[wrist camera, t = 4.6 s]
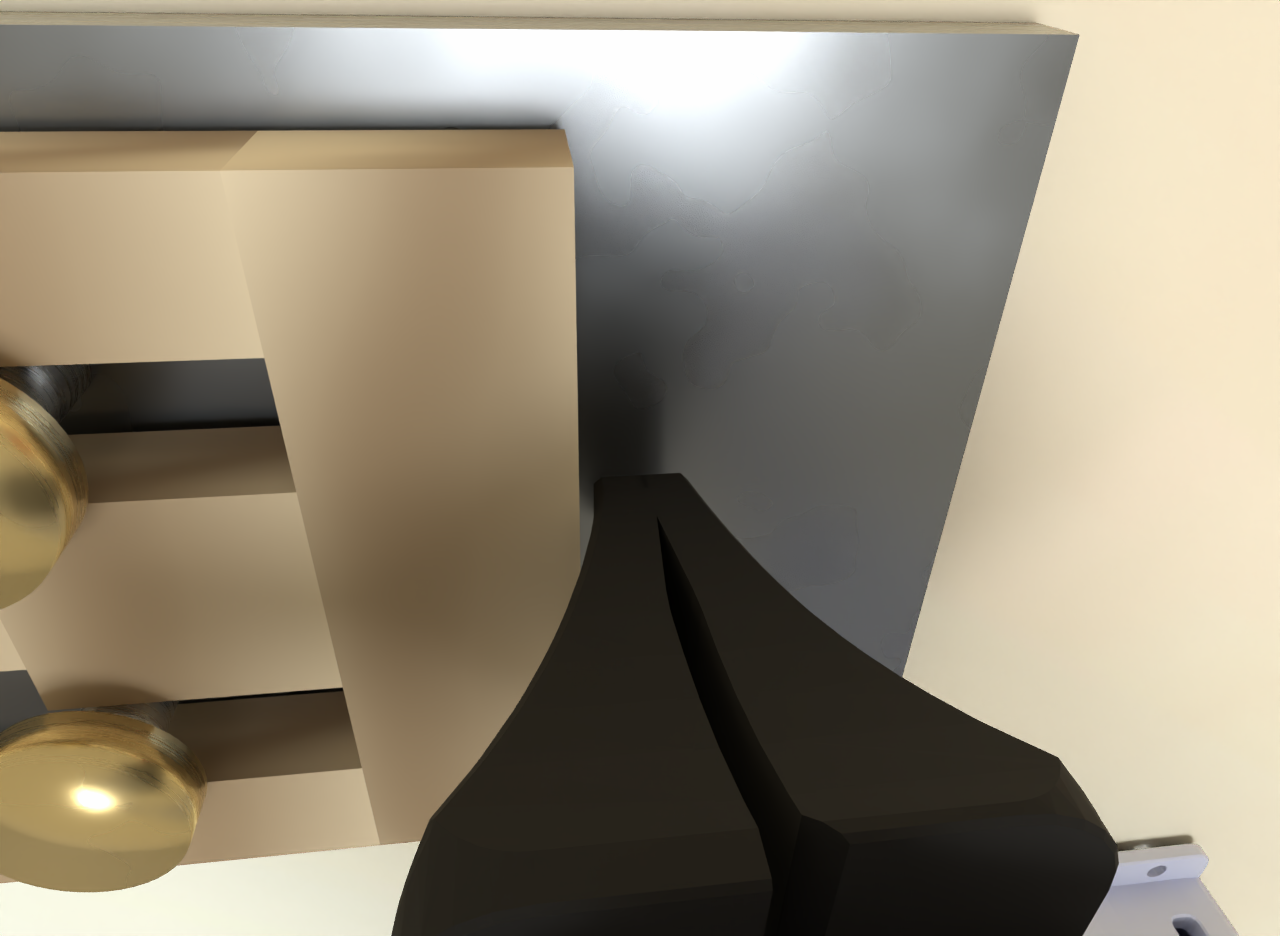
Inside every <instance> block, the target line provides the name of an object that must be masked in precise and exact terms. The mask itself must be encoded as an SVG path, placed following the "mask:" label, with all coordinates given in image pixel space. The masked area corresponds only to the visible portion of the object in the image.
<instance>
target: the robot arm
mask: <svg viewBox="0 0 1280 936" xmlns="http://www.w3.org/2000/svg"><path fill="white" fill-rule="evenodd" d="M1208 861H1209V859H1208V856H1207V855H1206V854H1205V852H1204V851H1203V849H1202V848H1201V847H1200V846H1199V845H1197V844H1180V845H1171V846H1162V847H1154V848H1145V849H1136V850H1127V851H1118V848H1117V844H1116V843H1115V841H1114V840H1113V838H1112V837H1111V835H1110V833H1109V832H1108V830H1107V829H1106V827H1105V825H1104V824H1103V822H1102V821H1101V819H1100V817H1099V816H1098V814H1097V812H1096V811H1095V809H1094V807H1093V806H1092V804H1091V803H1090V801H1089V799H1088V798H1087V796H1086V795H1085V793H1084V792H1083V790H1082V789H1081V788H1080V786H1079V785H1078V784H1077V782H1076V781H1075V780H1074V778H1073V777H1072V776H1071V774H1070V773H1069V772H1068V770H1067V769H1066V767H1065V766H1064V765H1063V763H1062V762H1061V761H1060V759H1059V758H1058V757H1056V756H1054V755H1052V754H1050V753H1047V752H1045V751H1043V750H1041V749H1039V748H1037V747H1034V746H1032V745H1030V744H1028V743H1026V742H1024V741H1021V740H1019V739H1017V738H1015V737H1013V736H1011V735H1009V734H1006V733H1004V732H1002V731H1000V730H998V729H996V728H993V727H991V726H989V725H987V724H985V723H983V722H981V721H979V720H977V719H975V718H973V717H971V716H969V715H967V714H965V713H964V712H962V711H960V710H958V709H956V708H954V707H953V706H951V705H949V704H947V703H945V702H943V701H942V700H940V699H938V698H936V697H934V696H932V695H931V694H929V693H927V692H926V691H924V690H922V689H921V688H919V687H917V686H916V685H914V684H912V683H911V682H909V681H907V680H905V679H904V678H902V677H901V676H899V675H898V674H896V673H895V672H893V671H892V670H890V669H889V668H887V667H885V666H884V665H882V664H881V663H879V662H878V661H876V660H875V659H873V658H872V657H870V656H869V655H867V654H866V653H864V652H863V651H861V650H860V649H859V648H857V647H856V646H854V645H853V644H852V643H850V642H849V641H847V640H846V639H845V638H843V637H842V636H841V635H840V634H838V633H837V632H836V631H834V630H833V629H832V628H831V627H829V626H828V625H827V624H826V623H824V622H823V621H822V620H820V619H819V618H818V617H817V616H815V615H814V614H813V613H812V612H810V611H809V610H808V609H807V608H806V607H805V606H804V605H802V604H801V603H800V602H799V601H798V600H797V599H796V598H795V597H794V596H792V595H791V594H790V593H789V592H788V591H787V590H786V589H785V588H784V587H783V586H782V585H781V584H780V583H779V582H778V581H777V580H775V579H774V578H773V577H772V576H771V575H770V574H769V573H768V572H767V571H766V570H765V569H764V568H763V567H762V566H761V565H760V564H759V562H758V561H757V560H756V559H755V558H754V557H753V556H752V555H751V554H750V553H749V552H748V551H747V550H746V549H745V547H744V546H743V545H742V544H741V543H740V542H739V541H738V540H737V539H736V538H735V537H734V536H733V534H732V533H731V532H730V531H729V530H728V529H727V528H726V526H725V525H724V524H723V523H722V522H721V520H720V519H719V518H718V517H717V516H716V515H715V513H714V512H713V511H712V510H711V509H710V507H709V506H708V505H707V504H706V502H705V501H704V500H703V499H702V497H701V496H700V495H699V494H698V492H697V491H696V490H695V488H694V487H693V486H692V485H691V483H690V482H689V481H688V479H687V478H685V477H684V476H683V475H682V474H681V473H667V474H648V475H628V476H608V477H601V478H600V479H599V480H597V481H596V482H595V483H594V518H593V524H592V529H591V535H590V539H589V542H588V546H587V550H586V553H585V557H584V561H583V565H582V568H581V571H580V574H579V577H578V580H577V582H576V585H575V588H574V590H573V593H572V596H571V598H570V601H569V604H568V607H567V609H566V612H565V614H564V616H563V619H562V621H561V623H560V626H559V628H558V630H557V632H556V634H555V636H554V639H553V641H552V643H551V645H550V647H549V649H548V651H547V653H546V655H545V657H544V659H543V661H542V662H541V664H540V666H539V668H538V669H537V671H536V673H535V675H534V677H533V678H532V680H531V682H530V684H529V685H528V687H527V689H526V691H525V692H524V694H523V696H522V697H521V699H520V701H519V702H518V704H517V705H516V707H515V709H514V710H513V712H512V713H511V715H510V716H509V718H508V719H507V720H506V722H505V723H504V725H503V726H502V728H501V729H500V730H499V732H498V733H497V735H496V736H495V738H494V739H493V740H492V742H491V743H490V745H489V746H488V748H487V749H486V750H485V752H484V753H483V755H482V756H481V757H480V759H479V760H478V761H477V763H476V764H475V765H474V767H473V768H472V769H471V770H470V772H469V773H468V774H467V775H466V776H465V778H464V779H463V780H462V781H461V782H460V783H459V785H458V786H457V787H456V788H455V789H454V791H453V792H452V793H451V794H450V795H449V797H448V798H447V799H446V800H445V801H444V803H443V804H442V805H441V806H440V807H439V809H438V810H437V811H436V812H435V813H434V814H433V816H432V817H431V818H430V819H429V822H428V824H427V827H426V829H425V832H424V834H423V837H422V839H421V842H420V844H419V847H418V849H417V852H416V854H415V857H414V859H413V862H412V865H411V868H410V871H409V873H408V876H407V879H406V882H405V885H404V888H403V891H402V895H401V898H400V901H399V905H398V909H397V913H396V917H395V921H394V926H393V931H392V935H391V936H1239V934H1238V933H1237V931H1236V930H1235V928H1234V927H1233V926H1232V924H1231V923H1230V921H1229V920H1228V918H1227V917H1226V915H1225V914H1224V913H1223V911H1222V910H1221V908H1220V907H1219V905H1218V904H1217V903H1216V901H1215V900H1214V898H1213V897H1212V895H1211V894H1210V892H1209V891H1208V890H1207V888H1206V887H1205V885H1204V884H1203V882H1202V881H1201V879H1200V878H1199V877H1200V875H1201V874H1202V872H1203V871H1204V869H1205V868H1206V866H1207V864H1208Z"/></svg>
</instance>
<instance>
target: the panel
mask: <svg viewBox="0 0 1280 936" xmlns="http://www.w3.org/2000/svg"><path fill="white" fill-rule="evenodd" d="M247 358H264V359H265V363H266V367H267V371H268V375H269V380H270V384H271V388H272V392H273V396H274V401H275V405H276V409H277V413H278V417H279V422H280V426H262V427H239V428H216V429H193V430H170V431H147V432H124V433H101V434H78V435H68V436H69V438H70V439H71V441H72V443H73V444H74V446H75V447H76V449H77V451H78V453H79V455H80V458H81V460H82V462H83V465H84V468H85V472H86V475H87V482H88V504H87V508H86V512H85V515H84V518H83V520H82V522H81V524H80V526H79V528H78V529H77V531H76V532H75V534H74V535H73V537H72V538H71V540H70V542H69V543H68V545H67V546H66V548H65V549H64V551H63V552H62V554H61V555H60V557H59V558H58V560H57V562H56V563H55V565H54V566H53V568H52V569H51V571H50V572H49V574H48V575H47V577H46V578H45V579H44V581H43V582H42V583H41V584H40V585H39V586H38V587H37V588H36V589H35V590H34V591H33V592H32V593H31V594H29V595H28V596H26V597H25V598H23V599H22V600H20V601H18V602H16V603H14V604H12V605H10V606H8V607H6V608H3V609H0V672H1V671H15V670H27V671H28V673H29V675H30V677H31V679H32V681H33V683H34V685H35V687H36V689H37V691H38V693H39V694H40V696H41V698H42V700H43V702H44V704H45V706H46V708H47V710H48V711H50V710H63V709H76V708H88V707H101V706H114V705H126V704H139V703H152V702H164V701H177V700H190V699H202V698H215V697H228V696H240V695H253V694H266V693H278V692H291V691H304V690H316V689H329V688H342V687H343V690H344V691H339V692H327V693H314V694H302V695H289V696H276V697H264V698H251V699H239V700H226V701H213V702H201V703H188V704H178V705H177V707H176V710H175V712H174V715H173V718H172V720H171V723H170V725H169V728H168V730H167V733H169V734H170V735H172V736H174V737H175V738H177V739H178V740H180V741H181V742H182V743H183V744H185V745H186V746H187V747H188V748H189V749H190V750H191V751H192V752H193V753H194V754H195V755H196V757H197V758H198V759H199V761H200V762H201V764H202V766H203V768H204V770H205V773H206V777H207V793H206V797H205V800H204V803H203V806H202V809H201V812H200V815H199V818H198V822H197V825H196V828H195V831H194V834H193V837H192V840H191V843H190V846H189V849H188V851H187V853H186V855H185V856H184V858H183V859H182V861H181V862H180V863H179V864H178V865H187V864H197V863H207V862H217V861H227V860H237V859H247V858H257V857H267V856H277V855H287V854H296V853H306V852H316V851H326V850H336V849H346V848H356V847H366V846H376V845H386V844H396V843H406V842H416V841H421V839H422V837H423V834H424V832H425V829H426V827H427V824H428V822H429V819H430V818H431V817H432V816H433V814H434V813H435V812H436V811H437V810H438V809H439V807H440V806H441V805H442V804H443V803H444V801H445V800H446V799H447V798H448V797H449V795H450V794H451V793H452V792H453V791H454V789H455V788H456V787H457V786H458V785H459V783H460V782H461V781H462V780H463V779H464V778H465V776H466V775H467V774H468V773H469V772H470V770H471V769H472V768H473V767H474V765H475V764H476V763H477V761H478V760H479V759H480V757H481V756H482V755H483V753H484V752H485V750H486V749H487V748H488V746H489V745H490V743H491V742H492V740H493V739H494V738H495V736H496V735H497V733H498V732H499V730H500V729H501V728H502V726H503V725H504V723H505V722H506V720H507V719H508V718H509V716H510V715H511V713H512V712H513V710H514V709H515V707H516V705H517V704H518V702H519V701H520V699H521V697H522V696H523V694H524V692H525V691H526V689H527V687H528V685H529V684H530V682H531V680H532V678H533V677H534V675H535V673H536V671H537V669H538V668H539V666H540V664H541V662H542V661H543V659H544V657H545V655H546V653H547V651H548V649H549V647H550V645H551V643H552V641H553V639H554V636H555V634H556V632H557V630H558V628H559V626H560V623H561V621H562V619H563V616H564V614H565V612H566V609H567V607H568V604H569V601H570V598H571V596H572V593H573V590H574V588H575V585H576V582H577V580H578V577H579V574H580V571H581V570H580V510H579V449H578V389H577V328H576V268H575V207H574V166H573V162H572V158H571V154H570V149H569V145H568V141H567V137H566V133H565V129H523V130H292V131H62V132H0V367H15V366H44V365H73V364H102V363H131V362H160V361H189V360H218V359H247ZM8 882H18V881H16V880H14V879H11V878H8V877H6V876H4V875H1V874H0V883H8Z"/></svg>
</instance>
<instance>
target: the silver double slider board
mask: <svg viewBox="0 0 1280 936" xmlns="http://www.w3.org/2000/svg"><path fill="white" fill-rule="evenodd" d="M1078 38H1079V34H1075V33H1072V32H1068V31H1065V30H1061V29H1057V28H1054V27H1050V26H1046V25H1043V24H1039V23H981V22H890V21H799V20H709V19H618V18H527V17H437V16H346V15H256V14H165V13H74V12H0V132H62V131H292V130H523V129H565V133H566V137H567V141H568V145H569V149H570V154H571V158H572V162H573V166H574V207H575V268H576V328H577V389H578V449H579V510H580V570H581V568H582V565H583V561H584V557H585V553H586V550H587V546H588V542H589V539H590V535H591V529H592V524H593V518H594V483H595V482H596V481H597V480H599V479H600V478H601V477H608V476H628V475H648V474H667V473H681V474H682V475H683V476H684V477H685V478H687V479H688V481H689V482H690V483H691V485H692V486H693V487H694V488H695V490H696V491H697V492H698V494H699V495H700V496H701V497H702V499H703V500H704V501H705V502H706V504H707V505H708V506H709V507H710V509H711V510H712V511H713V512H714V513H715V515H716V516H717V517H718V518H719V519H720V520H721V522H722V523H723V524H724V525H725V526H726V528H727V529H728V530H729V531H730V532H731V533H732V534H733V536H734V537H735V538H736V539H737V540H738V541H739V542H740V543H741V544H742V545H743V546H744V547H745V549H746V550H747V551H748V552H749V553H750V554H751V555H752V556H753V557H754V558H755V559H756V560H757V561H758V562H759V564H760V565H761V566H762V567H763V568H764V569H765V570H766V571H767V572H768V573H769V574H770V575H771V576H772V577H773V578H774V579H775V580H777V581H778V582H779V583H780V584H781V585H782V586H783V587H784V588H785V589H786V590H787V591H788V592H789V593H790V594H791V595H792V596H794V597H795V598H796V599H797V600H798V601H799V602H800V603H801V604H802V605H804V606H805V607H806V608H807V609H808V610H809V611H810V612H812V613H813V614H814V615H815V616H817V617H818V618H819V619H820V620H822V621H823V622H824V623H826V624H827V625H828V626H829V627H831V628H832V629H833V630H834V631H836V632H837V633H838V634H840V635H841V636H842V637H843V638H845V639H846V640H847V641H849V642H850V643H852V644H853V645H854V646H856V647H857V648H859V649H860V650H861V651H863V652H864V653H866V654H867V655H869V656H870V657H872V658H873V659H875V660H876V661H878V662H879V663H881V664H882V665H884V666H885V667H887V668H889V669H890V670H892V671H893V672H895V673H896V674H898V675H899V676H901V677H902V675H903V672H904V668H905V664H906V661H907V657H908V653H909V650H910V646H911V643H912V639H913V635H914V632H915V628H916V625H917V621H918V617H919V614H920V610H921V606H922V603H923V599H924V596H925V592H926V588H927V585H928V581H929V577H930V574H931V570H932V567H933V563H934V559H935V556H936V552H937V549H938V545H939V541H940V538H941V534H942V530H943V527H944V523H945V520H946V516H947V512H948V509H949V505H950V501H951V498H952V494H953V491H954V487H955V483H956V480H957V476H958V473H959V469H960V465H961V462H962V458H963V454H964V451H965V447H966V444H967V440H968V436H969V433H970V429H971V425H972V422H973V418H974V415H975V411H976V407H977V404H978V400H979V397H980V393H981V389H982V386H983V382H984V378H985V375H986V371H987V368H988V364H989V360H990V357H991V353H992V349H993V346H994V342H995V339H996V335H997V331H998V328H999V324H1000V321H1001V317H1002V313H1003V310H1004V306H1005V302H1006V299H1007V295H1008V292H1009V288H1010V284H1011V281H1012V277H1013V273H1014V270H1015V266H1016V263H1017V259H1018V255H1019V252H1020V248H1021V245H1022V241H1023V237H1024V234H1025V230H1026V226H1027V223H1028V219H1029V216H1030V212H1031V208H1032V205H1033V201H1034V197H1035V194H1036V190H1037V187H1038V183H1039V179H1040V176H1041V172H1042V169H1043V165H1044V161H1045V158H1046V154H1047V150H1048V147H1049V143H1050V140H1051V136H1052V132H1053V129H1054V125H1055V121H1056V118H1057V114H1058V111H1059V107H1060V103H1061V100H1062V96H1063V93H1064V89H1065V85H1066V82H1067V78H1068V74H1069V71H1070V67H1071V64H1072V60H1073V56H1074V53H1075V49H1076V45H1077V42H1078ZM262 426H280V422H279V417H278V413H277V409H276V405H275V401H274V396H273V392H272V388H271V384H270V380H269V375H268V371H267V367H266V363H265V359H264V358H247V359H218V360H189V361H160V362H131V363H102V364H73V365H44V366H15V367H0V609H3V608H6V607H8V606H10V605H12V604H14V603H16V602H18V601H20V600H22V599H23V598H25V597H26V596H28V595H29V594H31V593H32V592H33V591H34V590H35V589H36V588H37V587H38V586H39V585H40V584H41V583H42V582H43V581H44V579H45V578H46V577H47V575H48V574H49V572H50V571H51V569H52V568H53V566H54V565H55V563H56V562H57V560H58V558H59V557H60V555H61V554H62V552H63V551H64V549H65V548H66V546H67V545H68V543H69V542H70V540H71V538H72V537H73V535H74V534H75V532H76V531H77V529H78V528H79V526H80V524H81V522H82V520H83V518H84V515H85V512H86V508H87V504H88V482H87V475H86V472H85V468H84V465H83V462H82V460H81V458H80V455H79V453H78V451H77V449H76V447H75V446H74V444H73V443H72V441H71V439H70V438H69V436H68V435H78V434H101V433H124V432H147V431H170V430H193V429H216V428H239V427H262ZM339 691H344V690H343V687H342V688H329V689H316V690H304V691H291V692H278V693H266V694H253V695H240V696H228V697H215V698H202V699H190V700H177V701H164V702H152V703H139V704H126V705H114V706H101V707H88V708H76V709H63V710H50V711H48V710H47V708H46V706H45V704H44V702H43V700H42V698H41V696H40V694H39V693H38V691H37V689H36V687H35V685H34V683H33V681H32V679H31V677H30V675H29V673H28V671H27V670H15V671H1V672H0V874H1V875H4V876H6V877H8V878H11V879H14V880H16V881H19V882H22V883H26V884H29V885H33V886H37V887H42V888H47V889H53V890H60V891H70V892H104V891H114V890H121V889H126V888H130V887H135V886H138V885H141V884H145V883H148V882H150V881H152V880H155V879H157V878H159V877H161V876H163V875H164V874H166V873H168V872H169V871H170V870H172V869H173V868H174V867H176V866H177V865H178V864H179V863H180V862H181V861H182V859H183V858H184V856H185V855H186V853H187V851H188V849H189V846H190V843H191V840H192V837H193V834H194V831H195V828H196V825H197V822H198V818H199V815H200V812H201V809H202V806H203V803H204V800H205V797H206V793H207V777H206V773H205V770H204V768H203V766H202V764H201V762H200V761H199V759H198V758H197V757H196V755H195V754H194V753H193V752H192V751H191V750H190V749H189V748H188V747H187V746H186V745H185V744H183V743H182V742H181V741H180V740H178V739H177V738H175V737H174V736H172V735H170V734H169V733H167V730H168V728H169V725H170V723H171V720H172V718H173V715H174V712H175V710H176V707H177V705H178V704H188V703H201V702H213V701H226V700H239V699H251V698H264V697H276V696H289V695H302V694H314V693H327V692H339Z"/></svg>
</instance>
